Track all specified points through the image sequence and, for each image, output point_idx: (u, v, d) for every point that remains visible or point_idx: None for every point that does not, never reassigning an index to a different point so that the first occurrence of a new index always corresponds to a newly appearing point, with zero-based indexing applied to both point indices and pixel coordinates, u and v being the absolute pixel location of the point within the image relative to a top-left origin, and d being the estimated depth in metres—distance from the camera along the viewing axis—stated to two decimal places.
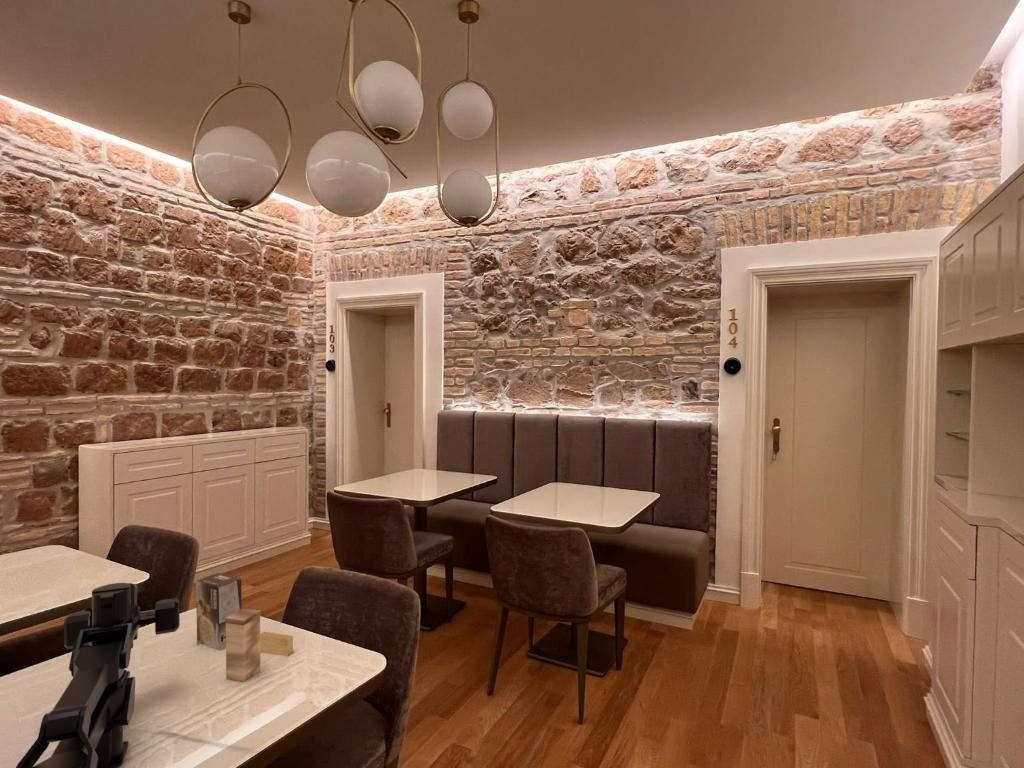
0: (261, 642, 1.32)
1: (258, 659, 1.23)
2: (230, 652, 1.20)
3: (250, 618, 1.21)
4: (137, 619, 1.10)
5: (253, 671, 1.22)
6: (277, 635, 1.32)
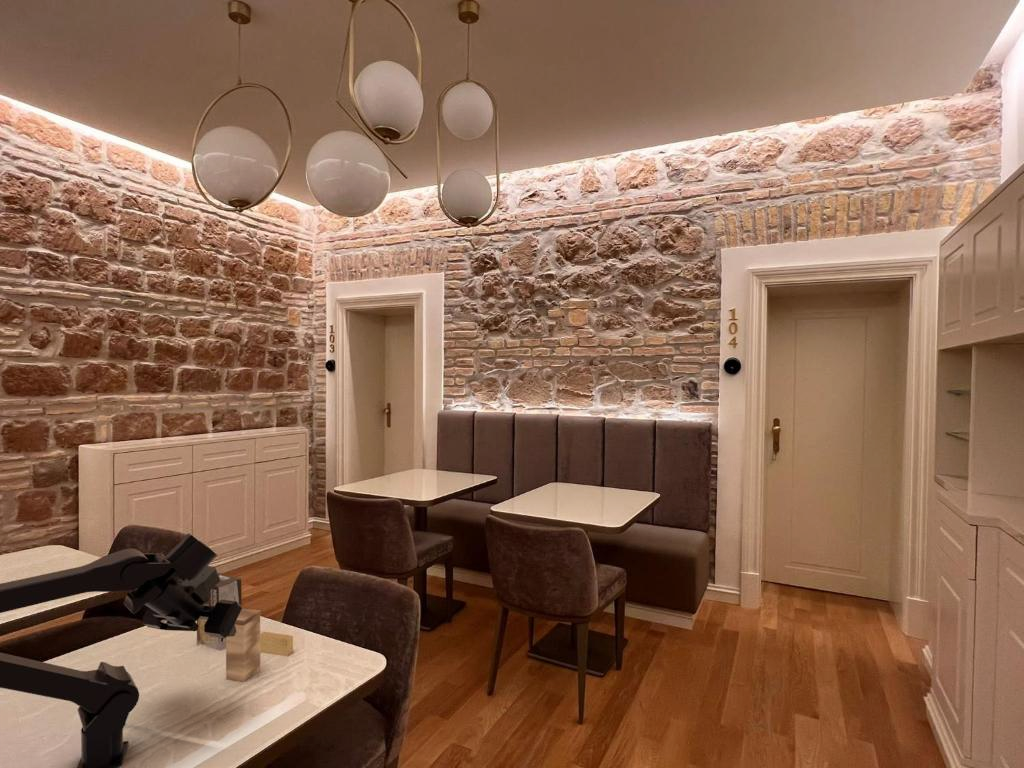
0: (261, 642, 1.32)
1: (258, 659, 1.23)
2: (230, 652, 1.20)
3: (250, 618, 1.21)
4: (199, 604, 1.07)
5: (253, 671, 1.22)
6: (277, 635, 1.32)
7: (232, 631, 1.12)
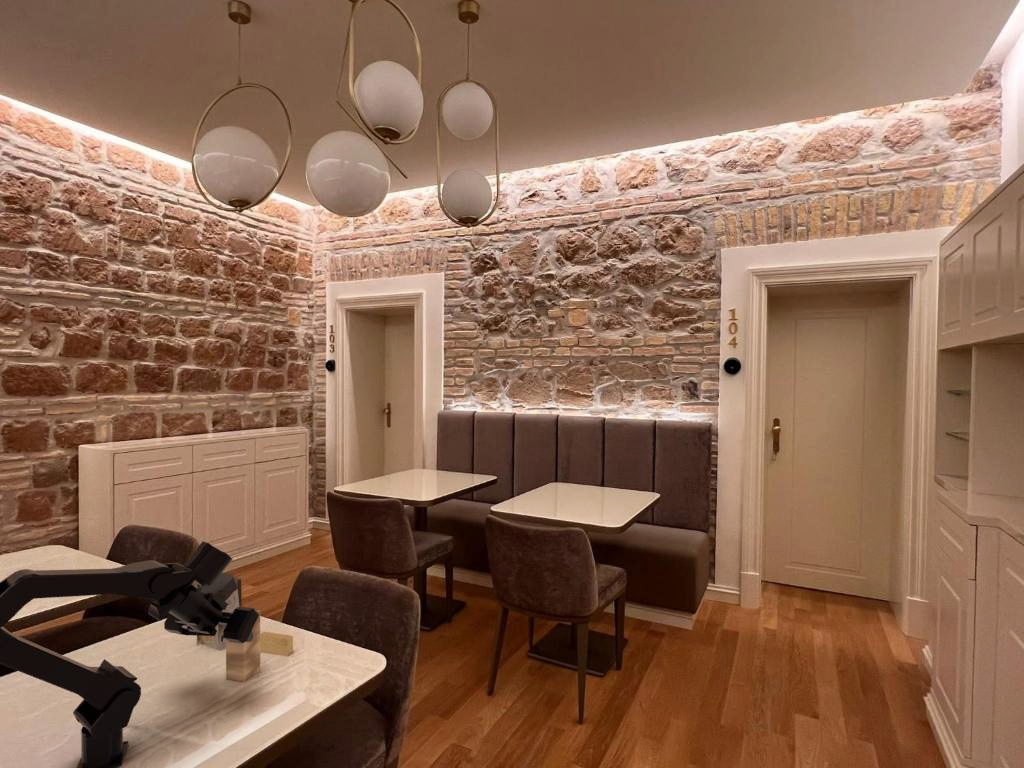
0: (261, 642, 1.32)
1: (258, 659, 1.23)
2: (230, 652, 1.20)
3: None
4: (218, 611, 1.11)
5: (253, 671, 1.22)
6: (277, 635, 1.32)
7: (249, 636, 1.16)
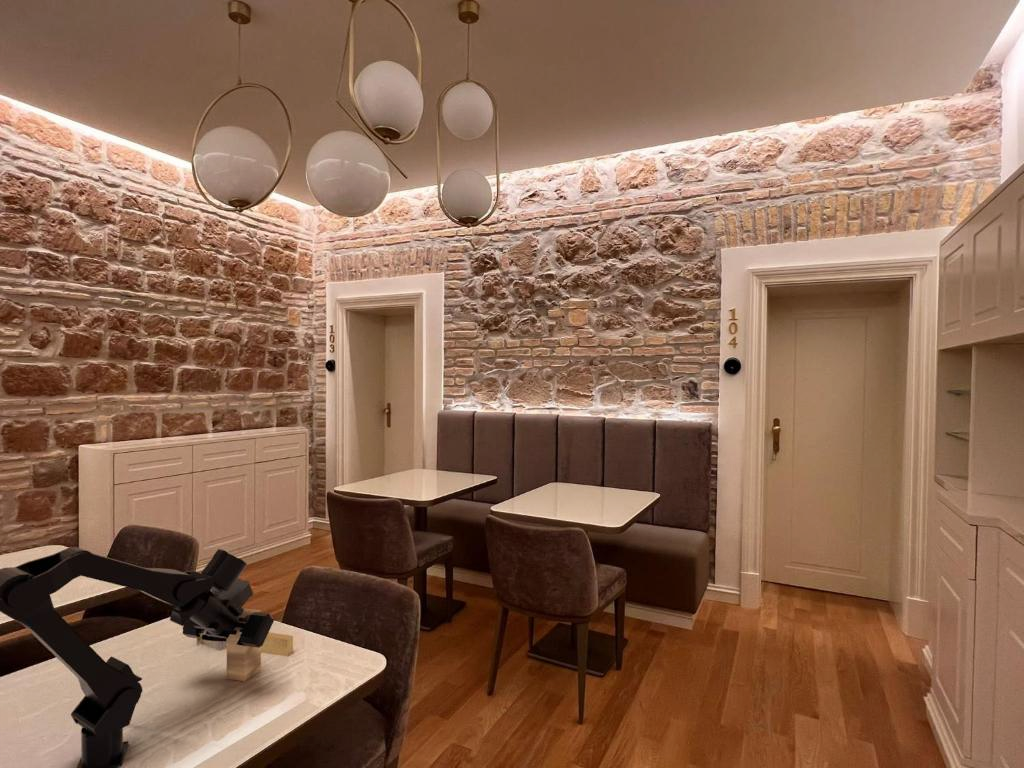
0: None
1: (259, 659, 1.23)
2: (231, 652, 1.20)
3: None
4: (235, 616, 1.16)
5: (253, 670, 1.22)
6: (277, 635, 1.32)
7: None
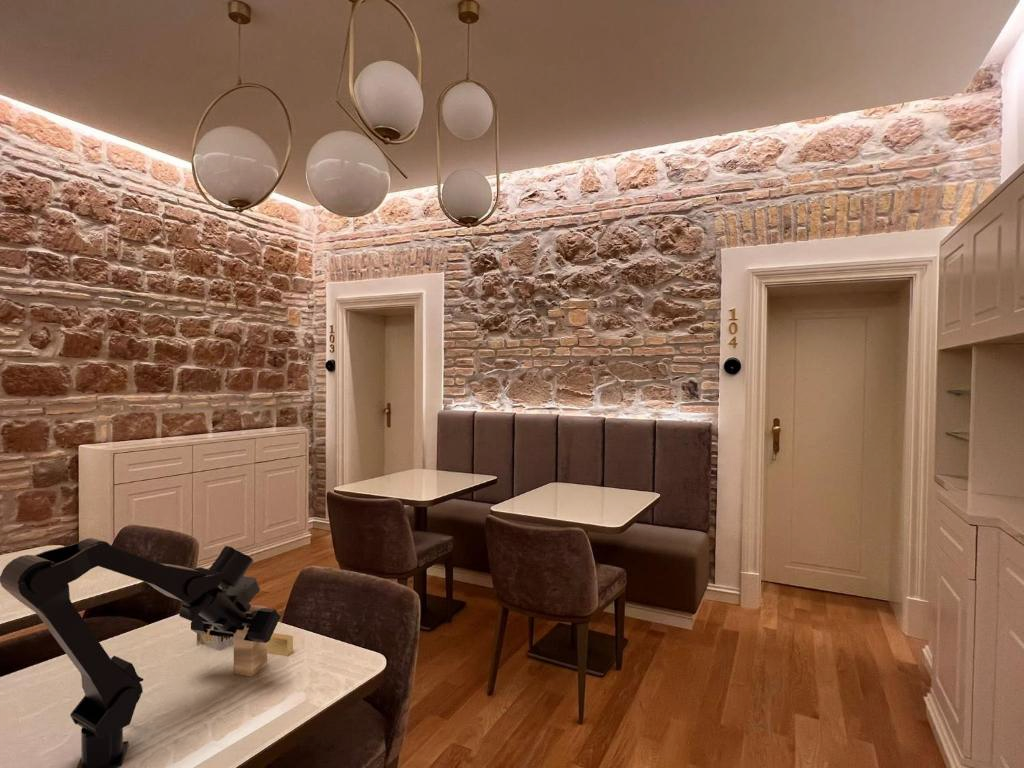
0: None
1: (265, 654, 1.25)
2: (238, 647, 1.22)
3: None
4: (242, 612, 1.18)
5: (260, 666, 1.24)
6: (277, 635, 1.32)
7: None
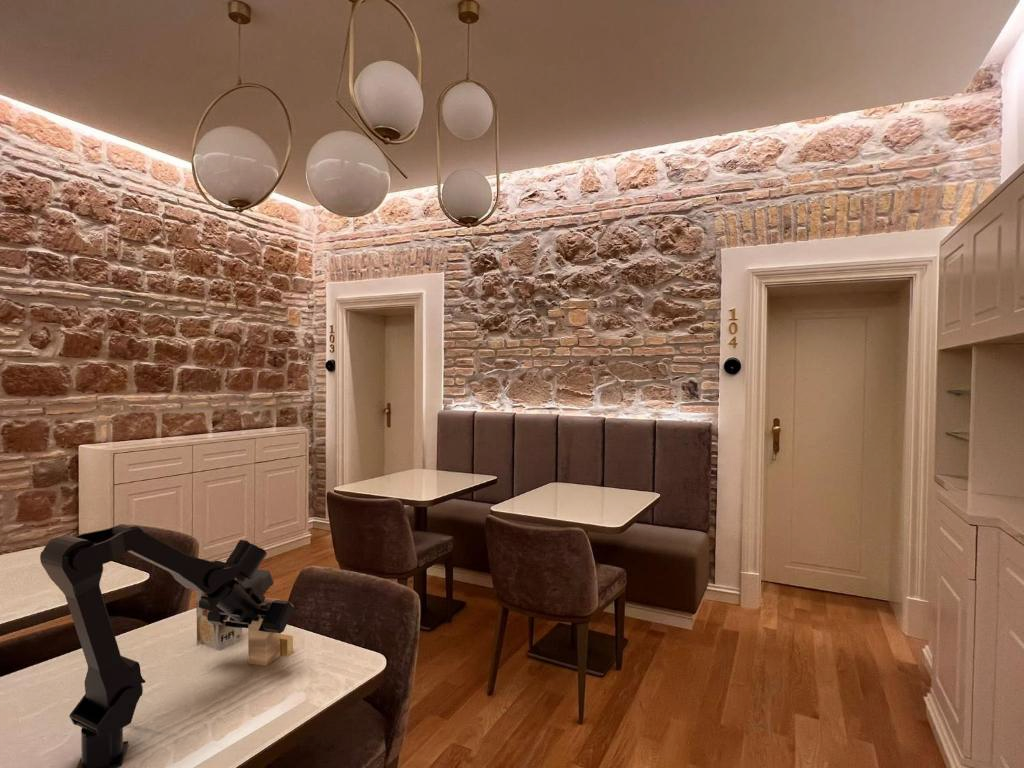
0: None
1: (278, 645, 1.30)
2: (252, 638, 1.26)
3: None
4: (257, 604, 1.22)
5: (273, 656, 1.28)
6: None
7: None
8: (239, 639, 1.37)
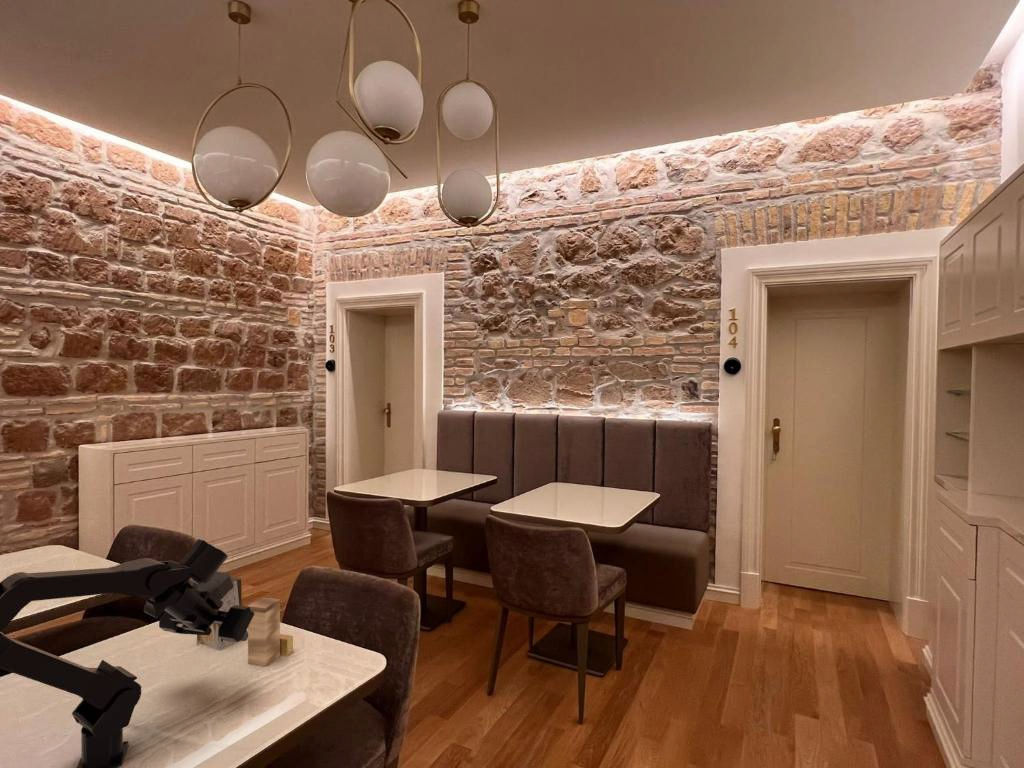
0: None
1: (278, 645, 1.30)
2: (252, 638, 1.26)
3: (271, 606, 1.27)
4: (213, 609, 1.11)
5: (273, 656, 1.28)
6: None
7: (244, 636, 1.16)
8: None
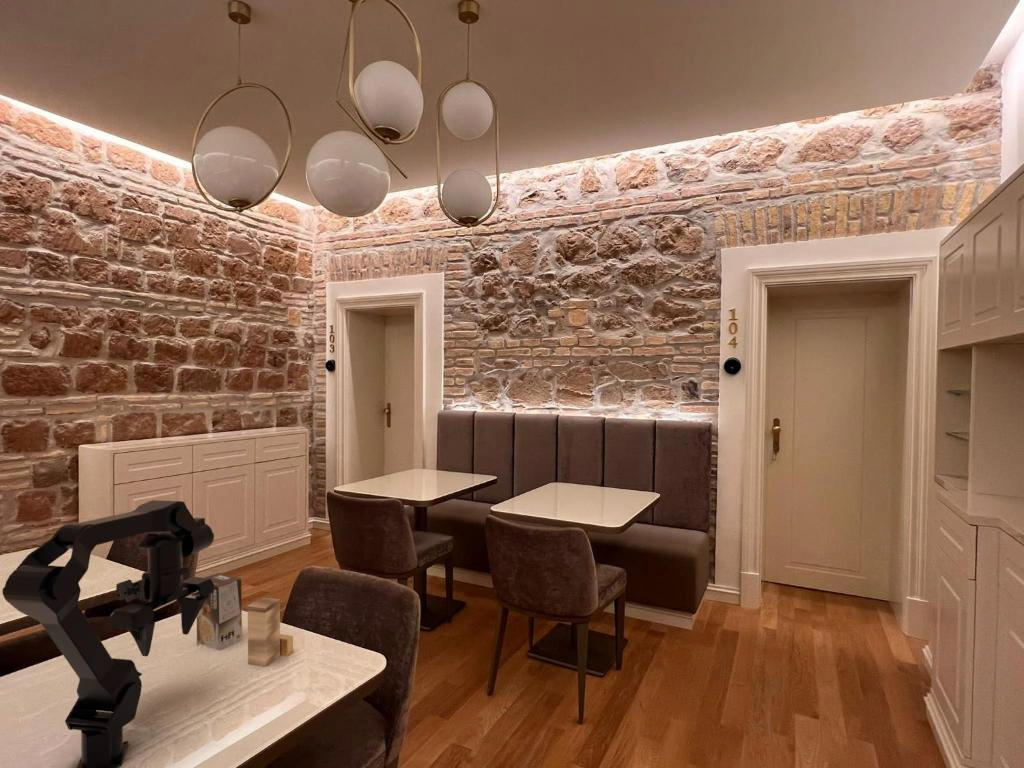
0: None
1: (278, 645, 1.30)
2: (252, 638, 1.26)
3: (271, 606, 1.27)
4: None
5: (273, 656, 1.28)
6: None
7: None
8: (239, 639, 1.37)
